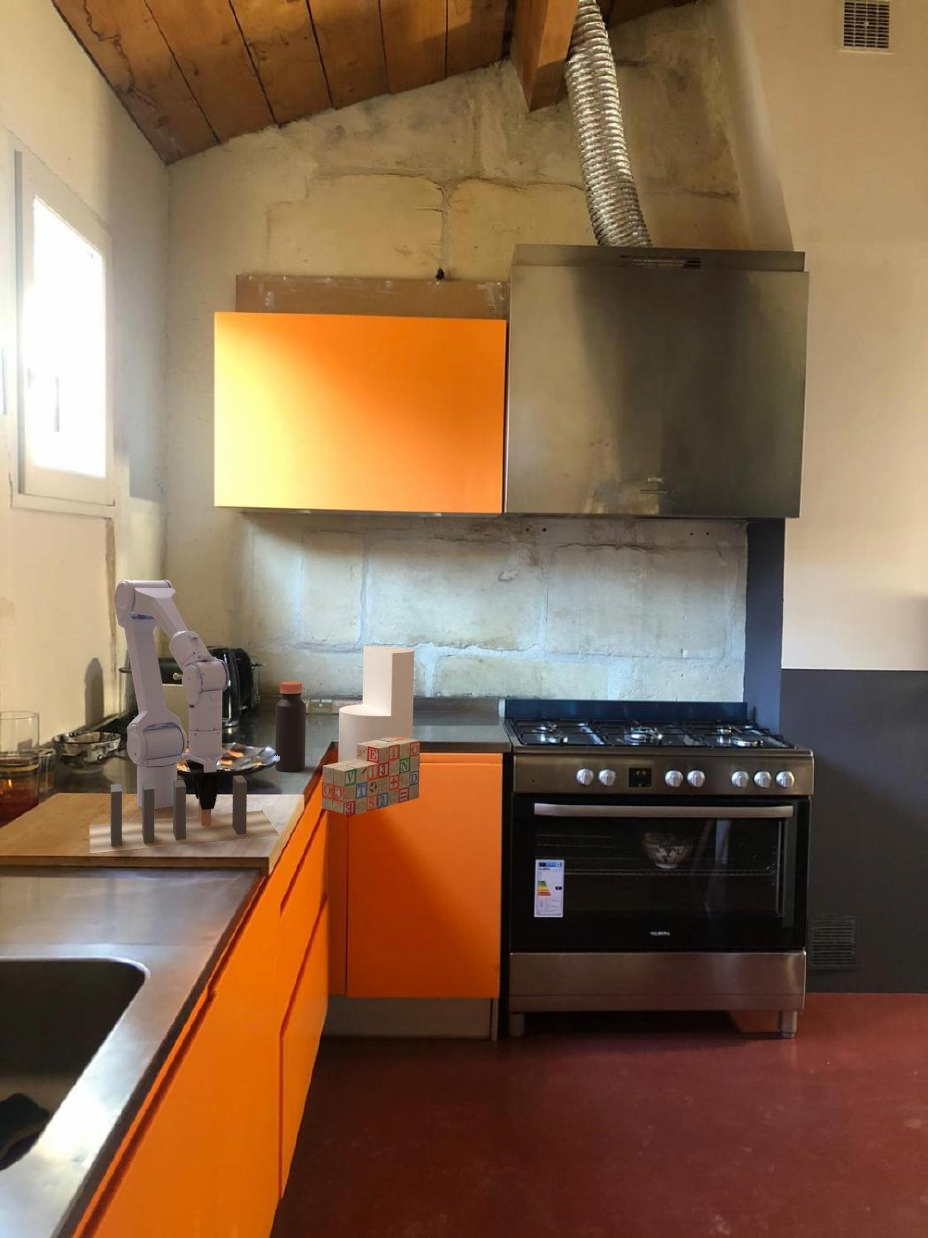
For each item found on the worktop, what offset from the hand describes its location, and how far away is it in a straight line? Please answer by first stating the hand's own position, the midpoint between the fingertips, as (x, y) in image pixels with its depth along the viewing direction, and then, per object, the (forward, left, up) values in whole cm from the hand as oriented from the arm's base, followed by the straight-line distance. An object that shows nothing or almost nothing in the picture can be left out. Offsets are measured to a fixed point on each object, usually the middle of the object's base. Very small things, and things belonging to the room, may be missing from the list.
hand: (204, 803), depth 158 cm
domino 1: (+7, -15, -3) cm, 17 cm away
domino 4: (0, 0, -3) cm, 3 cm away
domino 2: (+7, -10, -3) cm, 13 cm away
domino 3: (+7, -5, -3) cm, 9 cm away
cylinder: (-35, +43, -5) cm, 56 cm away
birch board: (+4, -4, -4) cm, 7 cm away
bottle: (-40, +24, -5) cm, 47 cm away
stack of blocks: (-5, +33, -5) cm, 33 cm away
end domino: (+7, +5, -3) cm, 9 cm away
